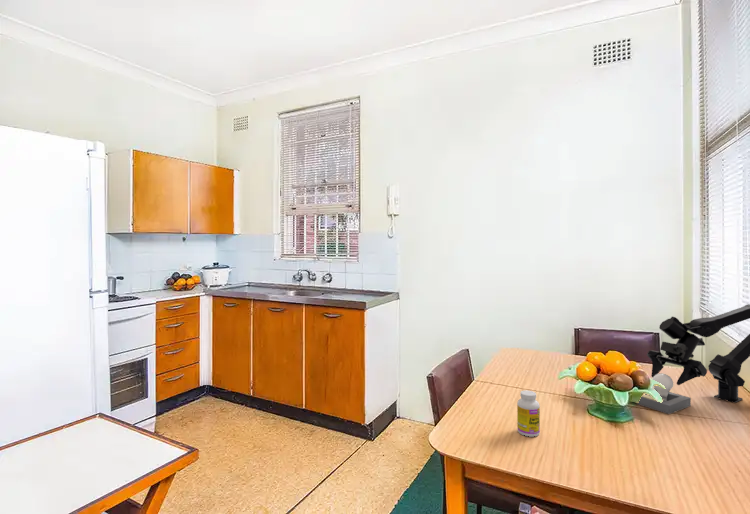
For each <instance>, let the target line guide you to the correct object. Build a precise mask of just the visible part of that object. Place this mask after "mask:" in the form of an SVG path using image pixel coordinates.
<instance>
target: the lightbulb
mask: <svg viewBox="0 0 750 514" xmlns="http://www.w3.org/2000/svg"><path fill="white" fill-rule="evenodd" d="M652 380H655V381H657V382H659V383H661V384H662V385H664V386H665V388H666V389H663V388H661V387H659V386H654V385H653V387H654V388H656V390H657V392H658V393H659V394H660V396H661V397H662V399H664V400H666V401H667V396H668V393H669V392H671V390H672V389H673V387H674V381H673V379H672V377H671V376H670V375H668V374H667V373H662V372H661V373H660V372H659V373H658V374H656V375H655V376H654V377H652V379H651V381H652Z"/></svg>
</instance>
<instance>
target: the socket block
mask: <svg viewBox="0 0 750 514" xmlns="http://www.w3.org/2000/svg"><path fill="white" fill-rule="evenodd" d="M654 389H655V390H656V388H655V387H654ZM656 391H657V390H656ZM691 399H692V398H691V397H689V396H685V395H682V394H679V393H675V392H672V391H669V393H668V396H667V401H666V400H664V399H662V400H663V402H662V403H660V402H657V401H656V400H654V399H653V398H652V397H651V396H650V395H647V394H645V395H643V396H642V397H641V399H640V401H639V403H638V404H637V405H639V406H643V407H646V408H649V409H651V410H654V411H658V412H662V413H664V414H667V415H671V414H674V413H676V412H679V411H681V410H683V409H686V408H689V407H691V403H692V401H691Z"/></svg>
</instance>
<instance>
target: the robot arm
mask: <svg viewBox="0 0 750 514" xmlns="http://www.w3.org/2000/svg"><path fill="white" fill-rule="evenodd" d="M749 319H750V303H749V304H745V305H744V306H741V307H738V308H735V309H733V310H730V311H727V312H724V313H721V314H718V315H715V316H711V317H700V318H694V319H692V320H691V321H690V322H685V323H682V321H680V319H678V318H677V317H676V316H671V317H670V318H667V319H665V320H663V321H662V322H661V323H660V325H659V330H660V331H662V332H663V333H664V334H666V335H667V337H670V338H671V339H673V340H677V341H676V342H675V343H672V342H668V341H662V342H661V345H660V348H659V350H660V351H658V350H653V349H651V350H648V352H647V354H646V356H647V358H649V360H650V361H651V362H652V368H651V377H652V378H653V377H654V376H655V375H656V374H659V373H660V372H661V371H662V369H664V365H666V363H668V364H672V365H675V366H678V367H679V366H680V367H683V371H682V372H681V374H680V375H679V377H678V379H677V382H676V385H677V386H680V385H682V384H685V383H686V382H689V381H690V380H693V379H695V378H700V377H706V375H707V373H708V372H709V373H710V374H711V375H712V378H713V379H714V380H717V381H718V382H717V388H718V389H717V394H716V395H713V398H715V399H719V400H723V401H726V402H730V403H734V404H735V403H737V402H740V401H743V400H742V399H743V397H740V396H739V387H744V385H745V383H746V381H745V379H743V378H742V377H741V376H740V375H739V374H740V373H741V371H742V364H743V363H744V362H746V360H747V359H749V358H750V333H749V334H748V335H747V336H746V337H744V339H742V340H741V341H740V342H739V343H738V344H737V345H736V346H735V347H734V348H733V349H732V350H731V351H730V352H729V353H728V354H726V355H721V354H717V355H715V356H714V358H713V359H712V360H709V364H708V368H706V366H705V365H704V364H703V363H702V362H701V360H697V359H694V351H695V349H696V348H697V347H698V346H706V344H705V343H706V342H704V339H703V338H709V337H712V336H713V335H716V334H717V333H718V332H720V331H721V330H722V329H723V328H726V327H729V326H732V325H735V324H738V323H740V322H744V321H746V320H749ZM718 334H719V333H718ZM699 336H700V338H699ZM661 351H663V352H665V355H666V356H664V355H663V354H662V352H661ZM691 358H692V359H691Z"/></svg>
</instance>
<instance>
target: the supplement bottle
mask: <svg viewBox="0 0 750 514" xmlns="http://www.w3.org/2000/svg"><path fill="white" fill-rule="evenodd" d="M519 393H520V394H519V395H520V398H519V399H517V405H516V406H517V407H516V408H517V411H516V412H517V416H516V417H517V418H516V419H517V420H516V421H517V423H516V424H517V428H516V429H517V432H518V434H520V435H522V436H524V435H525V436H524V437H528V436H529V437H530V438H535V437H537V436H539V435H540V434H541V433H540V431H541V430H540V429H541V427H540V426H541V425H540V424H541V422H540V419H541V417H540V416H541V415H540V407H541V406H540V403H539V401H537V393H536V392H534V391H533V390H527V389H525V390H521V391H520V392H519ZM534 436H535V437H534Z"/></svg>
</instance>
